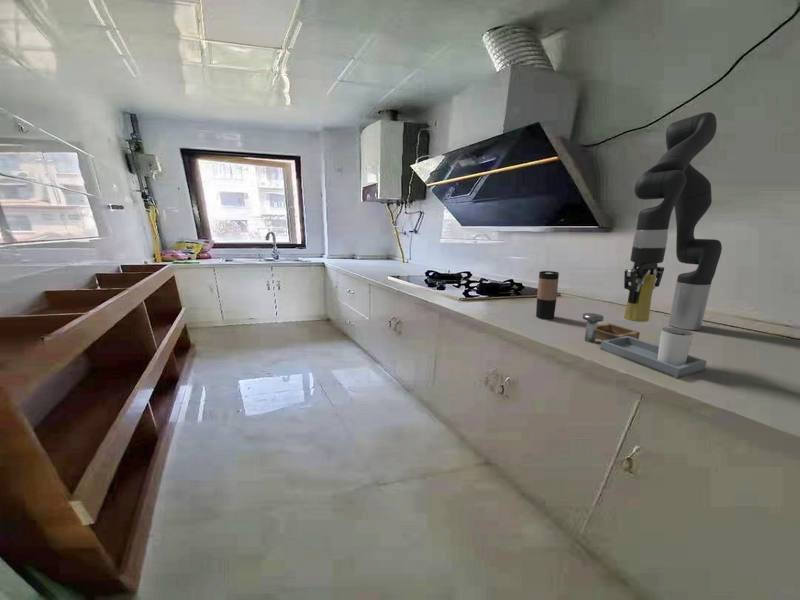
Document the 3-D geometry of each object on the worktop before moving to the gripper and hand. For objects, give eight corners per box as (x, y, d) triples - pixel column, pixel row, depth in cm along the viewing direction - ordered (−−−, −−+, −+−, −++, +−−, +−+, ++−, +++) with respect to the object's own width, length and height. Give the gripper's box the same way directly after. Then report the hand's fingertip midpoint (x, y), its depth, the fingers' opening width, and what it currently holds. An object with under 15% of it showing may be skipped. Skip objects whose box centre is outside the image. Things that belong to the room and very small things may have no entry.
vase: (653, 322, 88) (662, 275, 85) (630, 321, 89) (638, 274, 86) (641, 316, 94) (649, 271, 90) (619, 315, 95) (626, 271, 92)
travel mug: (533, 314, 135) (536, 271, 131) (550, 314, 134) (555, 270, 129) (538, 319, 128) (542, 273, 123) (557, 320, 127) (562, 273, 122)
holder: (607, 330, 113) (608, 323, 112) (638, 340, 103) (639, 332, 102) (586, 334, 110) (587, 327, 109) (616, 345, 100) (617, 337, 99)
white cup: (673, 359, 87) (680, 327, 85) (693, 370, 81) (701, 335, 78) (649, 359, 88) (655, 327, 85) (666, 370, 81) (673, 335, 79)
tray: (625, 343, 101) (626, 335, 100) (704, 370, 82) (706, 360, 81) (600, 349, 97) (601, 341, 96) (676, 378, 78) (679, 368, 77)
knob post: (588, 336, 108) (591, 312, 106) (604, 342, 102) (607, 316, 100) (575, 339, 106) (578, 314, 104) (591, 345, 101) (595, 319, 98)
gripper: (651, 244, 92) (641, 297, 96) (618, 246, 87) (610, 302, 91) (680, 245, 85) (668, 302, 89) (646, 247, 80) (636, 307, 84)
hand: (639, 301), depth 90 cm, fingers closed on vase, 5 cm apart
